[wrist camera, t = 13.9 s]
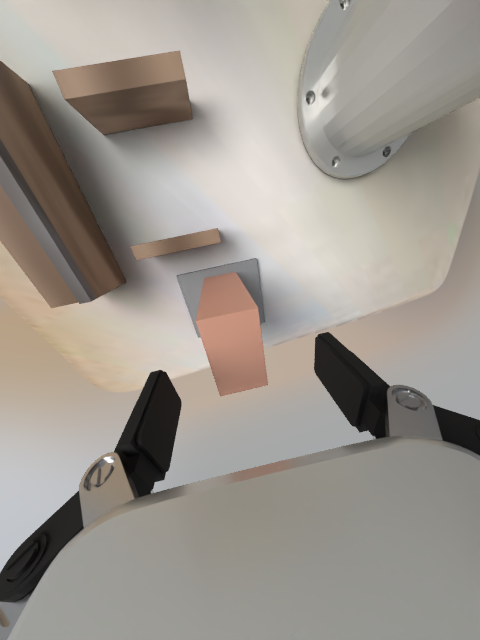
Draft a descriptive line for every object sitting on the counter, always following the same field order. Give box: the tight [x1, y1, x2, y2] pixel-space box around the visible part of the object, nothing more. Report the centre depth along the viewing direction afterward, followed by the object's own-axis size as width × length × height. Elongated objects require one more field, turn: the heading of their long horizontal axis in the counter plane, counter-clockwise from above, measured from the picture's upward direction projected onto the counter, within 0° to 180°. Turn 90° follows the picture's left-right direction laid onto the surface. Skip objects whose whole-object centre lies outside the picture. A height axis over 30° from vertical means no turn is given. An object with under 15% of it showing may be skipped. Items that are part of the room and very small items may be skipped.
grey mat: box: [177, 258, 265, 337], centre depth 23 cm, size 10×9×1 cm
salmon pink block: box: [196, 272, 268, 396], centre depth 18 cm, size 4×7×12 cm, turn 9°
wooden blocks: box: [0, 51, 221, 308], centre depth 14 cm, size 16×16×7 cm
